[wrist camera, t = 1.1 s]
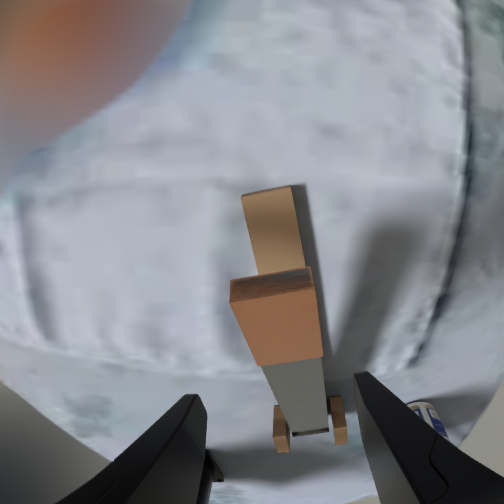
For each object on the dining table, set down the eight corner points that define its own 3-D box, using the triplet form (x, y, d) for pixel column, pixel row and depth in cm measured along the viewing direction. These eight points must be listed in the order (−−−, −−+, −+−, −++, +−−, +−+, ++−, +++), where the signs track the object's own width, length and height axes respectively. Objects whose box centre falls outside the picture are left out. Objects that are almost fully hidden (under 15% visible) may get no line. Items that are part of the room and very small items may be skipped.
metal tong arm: (328, 418, 24) (330, 433, 23) (291, 424, 25) (292, 438, 24) (310, 264, 13) (315, 290, 12) (230, 278, 13) (229, 305, 12)
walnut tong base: (342, 413, 26) (347, 443, 22) (278, 422, 26) (277, 452, 23) (312, 181, 19) (319, 189, 16) (220, 199, 20) (209, 211, 17)
